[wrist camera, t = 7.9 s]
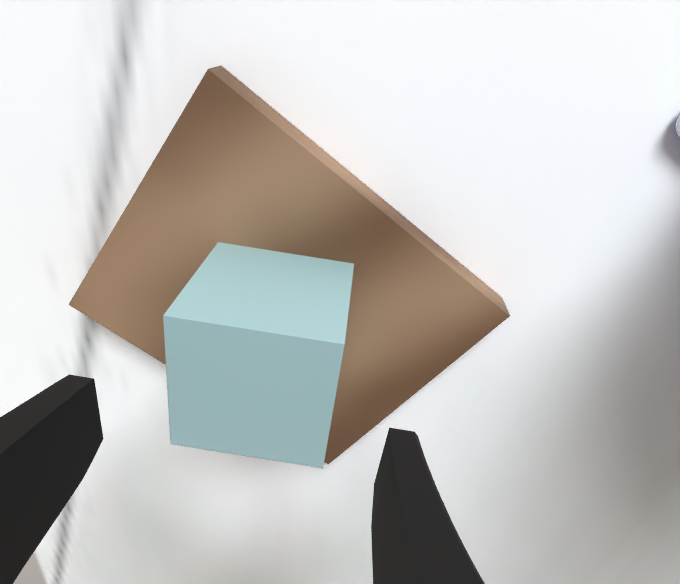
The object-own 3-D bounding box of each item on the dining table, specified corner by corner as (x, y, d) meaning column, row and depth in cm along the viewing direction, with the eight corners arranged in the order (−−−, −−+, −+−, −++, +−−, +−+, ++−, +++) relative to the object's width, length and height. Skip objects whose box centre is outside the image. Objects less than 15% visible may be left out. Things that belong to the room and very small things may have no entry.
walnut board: (502, 298, 17) (509, 316, 16) (330, 442, 21) (328, 464, 20) (221, 65, 14) (208, 68, 13) (86, 288, 18) (68, 304, 17)
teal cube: (354, 263, 16) (344, 344, 12) (336, 370, 18) (323, 468, 14) (218, 242, 16) (163, 315, 12) (217, 351, 18) (170, 444, 14)
